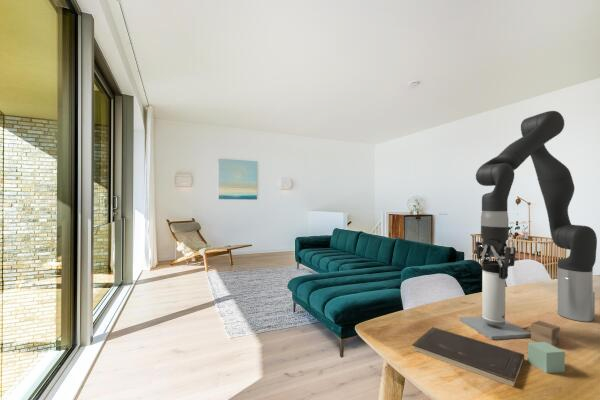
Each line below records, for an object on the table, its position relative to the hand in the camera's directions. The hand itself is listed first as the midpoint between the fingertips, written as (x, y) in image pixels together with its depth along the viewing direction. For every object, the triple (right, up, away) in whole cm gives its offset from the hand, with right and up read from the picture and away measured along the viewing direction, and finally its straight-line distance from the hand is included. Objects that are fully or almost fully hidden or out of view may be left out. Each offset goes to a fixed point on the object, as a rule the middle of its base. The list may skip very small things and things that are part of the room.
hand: (494, 275), depth 94 cm
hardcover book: (-19, -18, -17) cm, 31 cm away
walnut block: (+9, -17, -9) cm, 22 cm away
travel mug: (0, -15, 0) cm, 15 cm away
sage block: (-2, -17, -22) cm, 28 cm away
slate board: (0, -17, 0) cm, 17 cm away
